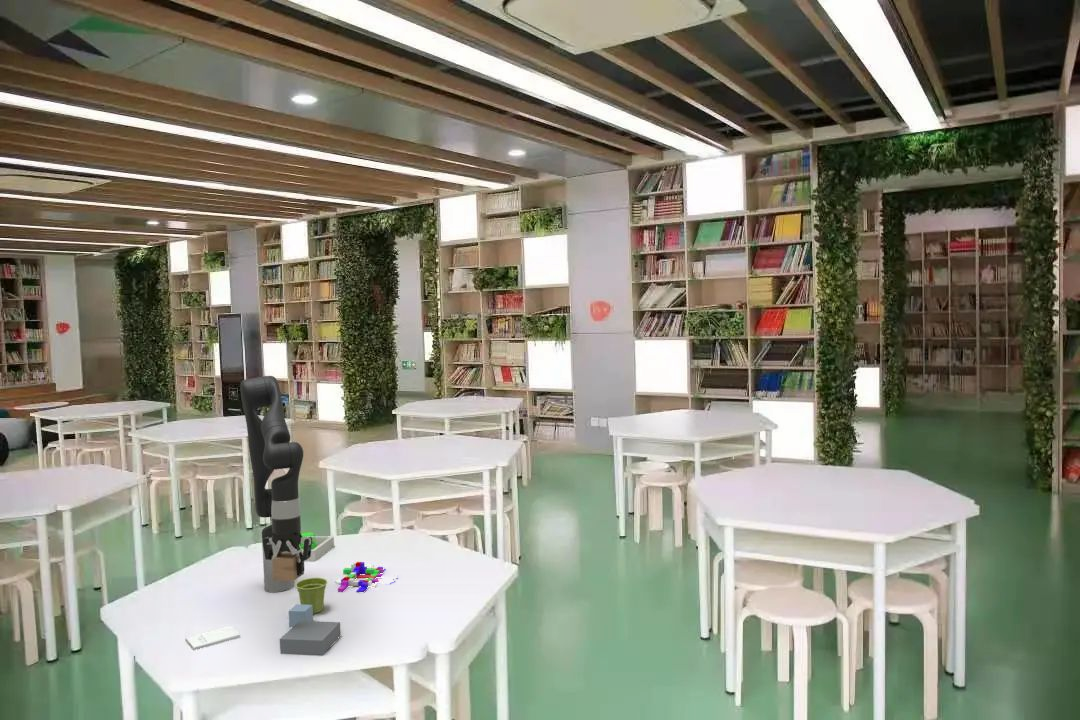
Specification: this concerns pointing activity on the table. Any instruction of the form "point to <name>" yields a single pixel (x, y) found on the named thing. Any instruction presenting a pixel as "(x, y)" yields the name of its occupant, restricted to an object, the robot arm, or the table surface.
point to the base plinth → (310, 638)
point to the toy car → (312, 541)
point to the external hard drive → (212, 637)
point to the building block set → (359, 576)
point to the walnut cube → (285, 567)
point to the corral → (320, 546)
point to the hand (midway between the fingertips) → (288, 574)
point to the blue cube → (300, 614)
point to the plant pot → (312, 592)
